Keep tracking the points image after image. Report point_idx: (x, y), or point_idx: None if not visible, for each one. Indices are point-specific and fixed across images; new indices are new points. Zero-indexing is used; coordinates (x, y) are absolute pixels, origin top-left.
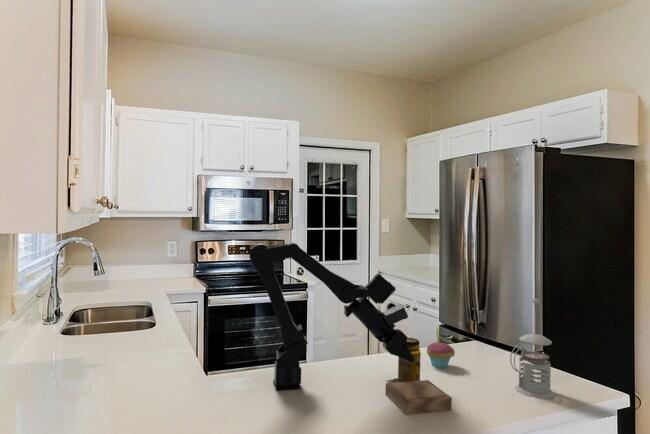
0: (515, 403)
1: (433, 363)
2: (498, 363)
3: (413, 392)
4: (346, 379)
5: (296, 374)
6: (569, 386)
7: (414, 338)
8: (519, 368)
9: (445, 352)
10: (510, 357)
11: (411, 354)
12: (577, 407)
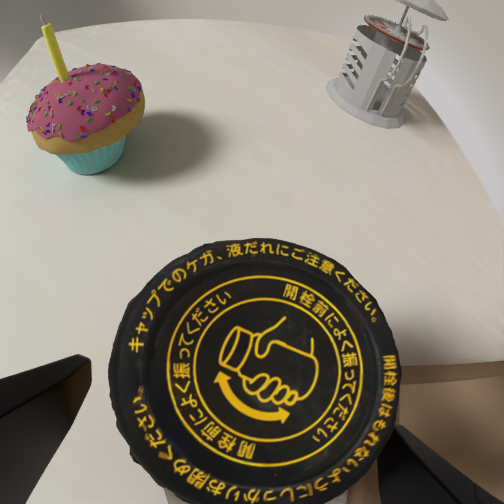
0: (440, 180)
1: (87, 167)
2: (175, 47)
3: (486, 486)
4: None
5: None
6: (342, 55)
7: (207, 250)
8: (379, 69)
9: (133, 101)
10: (403, 56)
11: (436, 455)
12: (437, 114)
